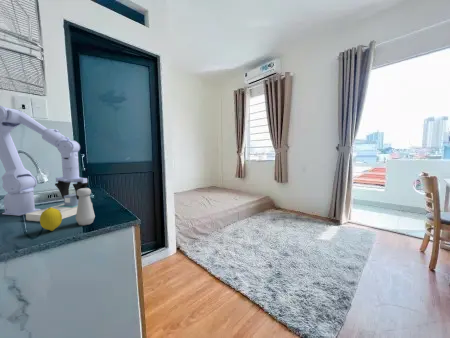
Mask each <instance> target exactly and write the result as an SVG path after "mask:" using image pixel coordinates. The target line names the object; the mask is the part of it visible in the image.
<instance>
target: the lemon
mask: <svg viewBox="0 0 450 338" xmlns="http://www.w3.org/2000/svg"><path fill="white" fill-rule="evenodd" d="M52 207H53V206H50V207H47V208H48V209H47V210H45V211H44V212H43V213H42V214H41V216H40V221H39V223H40V226H41V227H42V228H43V229H44V230H49V231H51V232H53V231H55V229H57V228H58V227H60V226H61V224H62V221H63V219H62V215H61V213H60V211H59V210H57V209H55V208H52Z"/></svg>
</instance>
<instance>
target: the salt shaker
mask: <svg viewBox="0 0 450 338" xmlns="http://www.w3.org/2000/svg"><path fill="white" fill-rule="evenodd" d="M91 194H92V190H91V189H90V188H89V187H86V188H81V189H78V190H77V196H79V200H78V207H77V213H76V214H75V221H76V223H77V224H78V225H79V226H87V225H91V224H92V223H94V220H95V217H96V215H95V211H94V207H92V205H93V202H92V199H91V196H90V195H91Z"/></svg>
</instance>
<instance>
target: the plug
mask: <svg viewBox="0 0 450 338" xmlns="http://www.w3.org/2000/svg"><path fill="white" fill-rule="evenodd" d="M63 204H64V206H72V207H73V206H76V205H78V199H77V198H76V193H69V195H66V196H64V199H63Z"/></svg>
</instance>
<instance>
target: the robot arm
mask: <svg viewBox="0 0 450 338" xmlns="http://www.w3.org/2000/svg"><path fill="white" fill-rule="evenodd" d="M21 125H24V126H25V127H27V128H29V129H31V130H32V131H34V132H35V133H37V134H40V135H41V139H42V140H43V141H45V142H47V143H49V144H50V145H51V146H53V147H55V148H57V151H58V152H59V153H60V157H61V167H62V168H61V169H62V171H61V172H62V176H58V177H55V183H54V186H56V188H57V190H58V191H59V193H60V195H61V198H62V199H63V200H64V196H66V195H70V191H69V190H70V186H71V183H72V186H73V188H74V190H75V194H76V198H77V199H78V200H79V196H77V190H78V189H81V188H87V186H88V185H89V183H88V178H87V177H81V176H80V166H79V165H80V163H79V151H80V150H81V145H80V143H79V142H77V140H74V139H73V140H72V139H70V137H69V136H65V135H63V134H62V133H61V132H60V130H58V129H54V128H47V127H46V126H45V125H43V124H41V123H40V122H38V121H37V120H35V119H34V118H32V116H30V115H29V114H27V113H25V112H24V111H21V110H20V109H17V108H10V107H7V106H3V105H0V160H1V163H2V166H3V168H4V170H5V173H4V174H3V175H2V176H1V179H2V180H1V181H2V189H3V190H4V191H5V192H7V193H6V194H5V195H4V197H3V206H4V207H3V208H4V212H2V214H1V215H8V216H24V215H26V214H27V213H31V212H35V211H38V210H42V209H41V208H36V207H35V196H34V191H35V188H36V187H37V185H38V181H37V179H36V177H35V176H34V175H33V174H32V172H31V171H29V170H28V169H27V168H25V165H24V164H23V161H22V159H21V157H20V155H19V152H18V150H17V147H16V145H15V143H14V140H13V137H12V135H11V132H12V130H14V129H16V128H17V127H19V126H21Z"/></svg>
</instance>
